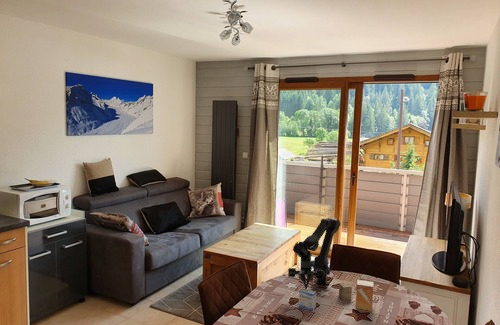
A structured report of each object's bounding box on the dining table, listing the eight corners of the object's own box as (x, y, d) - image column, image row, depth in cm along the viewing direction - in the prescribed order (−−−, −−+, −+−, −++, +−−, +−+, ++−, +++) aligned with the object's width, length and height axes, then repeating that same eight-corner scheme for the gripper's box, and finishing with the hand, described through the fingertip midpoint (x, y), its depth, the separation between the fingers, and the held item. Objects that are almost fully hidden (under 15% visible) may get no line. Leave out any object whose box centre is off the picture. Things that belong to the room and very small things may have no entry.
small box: (355, 308, 198) (356, 284, 196) (356, 303, 204) (357, 279, 202) (372, 311, 195) (373, 286, 194) (372, 305, 201) (373, 281, 200)
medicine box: (298, 307, 198) (298, 290, 197) (301, 303, 202) (301, 287, 201) (313, 311, 194) (313, 294, 194) (316, 307, 198) (316, 291, 197)
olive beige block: (338, 295, 212) (339, 283, 211) (347, 295, 213) (348, 282, 212) (342, 299, 207) (343, 287, 207) (351, 299, 208) (352, 286, 207)
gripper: (288, 253, 206) (288, 281, 196) (324, 255, 204) (325, 284, 194) (288, 262, 215) (287, 290, 205) (322, 264, 213) (323, 292, 203)
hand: (306, 289), depth 202 cm, fingers closed
